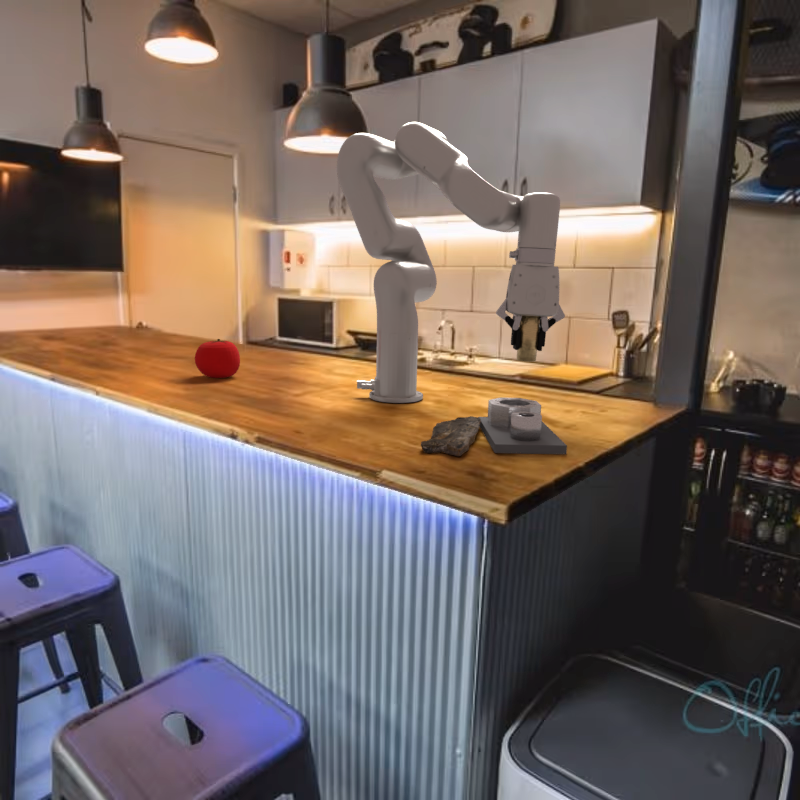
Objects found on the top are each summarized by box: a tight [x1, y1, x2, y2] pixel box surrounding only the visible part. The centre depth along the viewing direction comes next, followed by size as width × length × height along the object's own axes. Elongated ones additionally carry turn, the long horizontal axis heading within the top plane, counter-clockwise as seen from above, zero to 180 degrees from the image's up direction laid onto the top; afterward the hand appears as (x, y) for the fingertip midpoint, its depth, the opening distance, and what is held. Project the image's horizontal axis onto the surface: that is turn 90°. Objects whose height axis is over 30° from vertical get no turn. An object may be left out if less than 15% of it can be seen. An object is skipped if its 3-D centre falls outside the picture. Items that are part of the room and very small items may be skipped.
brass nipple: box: [515, 315, 540, 363], centre depth 126 cm, size 4×4×10 cm
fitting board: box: [478, 416, 568, 455], centre depth 113 cm, size 12×20×2 cm, turn 1°
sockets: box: [487, 397, 543, 441], centre depth 113 cm, size 9×18×4 cm, turn 1°
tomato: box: [194, 338, 241, 379], centre depth 167 cm, size 12×12×10 cm
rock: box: [420, 415, 481, 457], centre depth 110 cm, size 21×8×3 cm, turn 166°
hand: (527, 348), depth 127 cm, fingers closed on brass nipple, 4 cm apart
